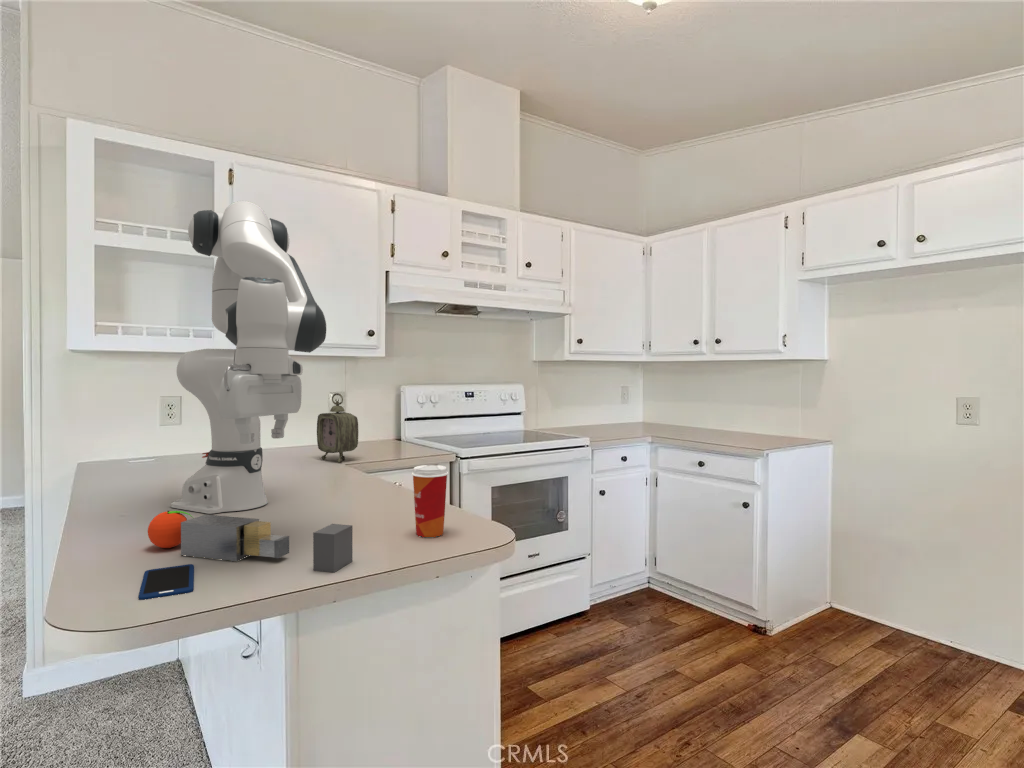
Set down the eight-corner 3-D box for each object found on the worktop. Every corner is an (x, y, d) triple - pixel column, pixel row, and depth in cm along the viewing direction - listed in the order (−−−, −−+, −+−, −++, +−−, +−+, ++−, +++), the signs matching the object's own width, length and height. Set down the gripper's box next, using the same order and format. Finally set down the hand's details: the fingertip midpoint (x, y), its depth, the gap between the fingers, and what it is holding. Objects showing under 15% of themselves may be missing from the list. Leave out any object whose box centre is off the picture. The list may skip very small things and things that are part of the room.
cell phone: (137, 603, 88) (137, 598, 88) (144, 574, 100) (144, 569, 100) (193, 594, 91) (193, 589, 91) (194, 567, 103) (194, 563, 103)
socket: (313, 570, 101) (313, 532, 101) (332, 559, 107) (332, 523, 107) (334, 572, 100) (334, 534, 100) (352, 561, 106) (352, 525, 106)
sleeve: (181, 555, 108) (180, 522, 108) (205, 546, 114) (205, 514, 114) (236, 561, 105) (236, 527, 105) (259, 551, 111) (259, 519, 111)
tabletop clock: (316, 460, 220) (316, 392, 219) (338, 457, 227) (338, 392, 226) (338, 464, 211) (338, 394, 210) (360, 461, 217) (360, 393, 217)
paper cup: (415, 528, 128) (415, 464, 127) (450, 529, 127) (450, 464, 127) (407, 539, 120) (407, 470, 119) (445, 539, 120) (445, 471, 119)
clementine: (196, 539, 119) (195, 504, 118) (195, 549, 112) (194, 512, 112) (149, 544, 115) (149, 508, 115) (146, 555, 109) (145, 516, 109)
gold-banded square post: (188, 549, 109) (188, 520, 109) (202, 543, 113) (202, 516, 112) (277, 558, 104) (277, 528, 104) (289, 552, 108) (289, 523, 108)
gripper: (242, 363, 97) (242, 447, 97) (307, 366, 117) (307, 435, 117) (208, 363, 98) (208, 446, 98) (278, 366, 118) (278, 435, 119)
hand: (263, 440), depth 108 cm, fingers open, 8 cm apart
